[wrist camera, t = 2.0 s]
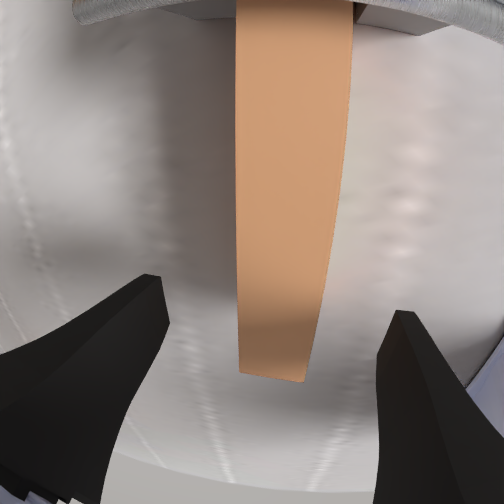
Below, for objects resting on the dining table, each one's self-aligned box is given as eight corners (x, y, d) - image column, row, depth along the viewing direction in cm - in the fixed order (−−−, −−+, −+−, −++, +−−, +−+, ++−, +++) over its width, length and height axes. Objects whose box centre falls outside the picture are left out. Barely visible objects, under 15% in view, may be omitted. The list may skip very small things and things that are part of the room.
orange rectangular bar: (313, 296, 15) (303, 382, 11) (264, 289, 15) (239, 372, 11) (339, -65, 6) (343, -133, 2) (273, -67, 7) (240, -133, 3)
